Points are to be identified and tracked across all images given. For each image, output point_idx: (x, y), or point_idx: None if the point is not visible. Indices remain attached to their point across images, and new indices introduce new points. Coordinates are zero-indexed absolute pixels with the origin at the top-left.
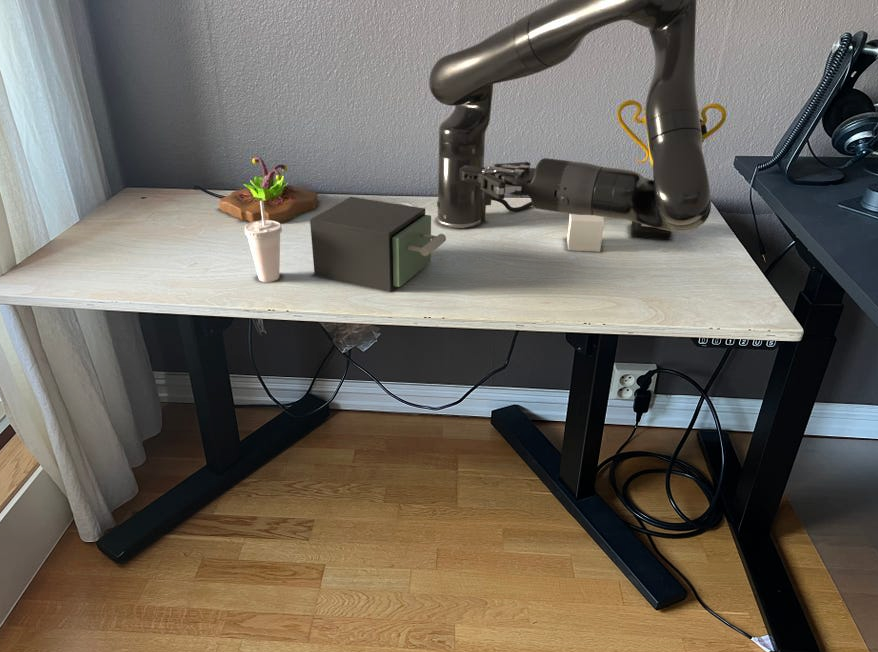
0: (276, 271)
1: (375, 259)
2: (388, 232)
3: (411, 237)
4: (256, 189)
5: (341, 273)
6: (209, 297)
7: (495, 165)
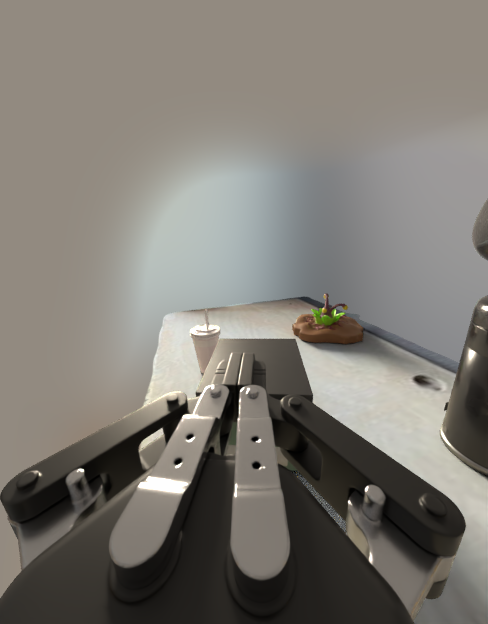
0: (205, 367)
1: None
2: (198, 391)
3: None
4: (319, 315)
5: None
6: (168, 359)
7: (285, 400)
